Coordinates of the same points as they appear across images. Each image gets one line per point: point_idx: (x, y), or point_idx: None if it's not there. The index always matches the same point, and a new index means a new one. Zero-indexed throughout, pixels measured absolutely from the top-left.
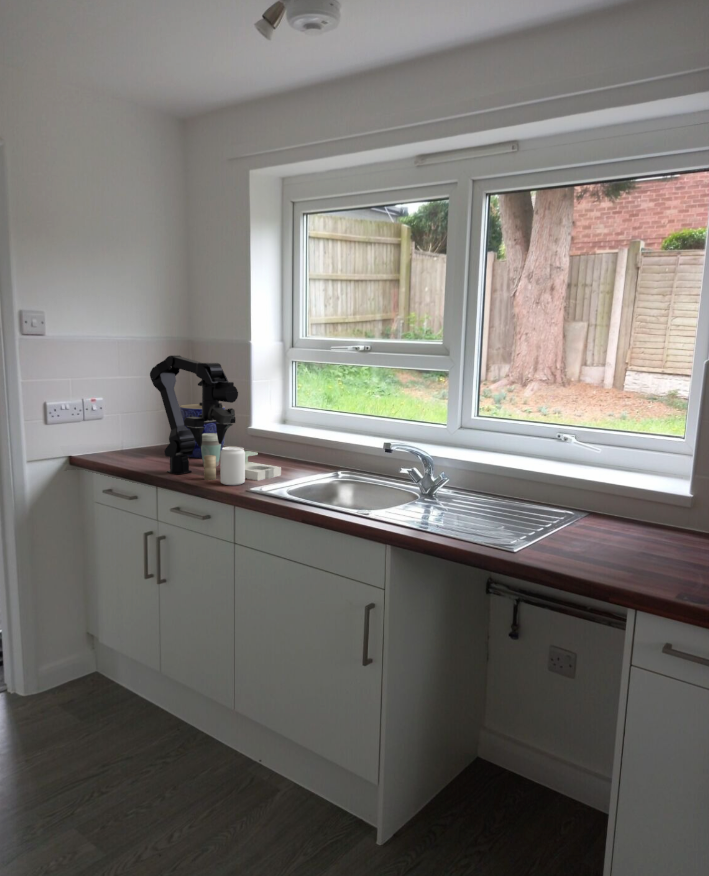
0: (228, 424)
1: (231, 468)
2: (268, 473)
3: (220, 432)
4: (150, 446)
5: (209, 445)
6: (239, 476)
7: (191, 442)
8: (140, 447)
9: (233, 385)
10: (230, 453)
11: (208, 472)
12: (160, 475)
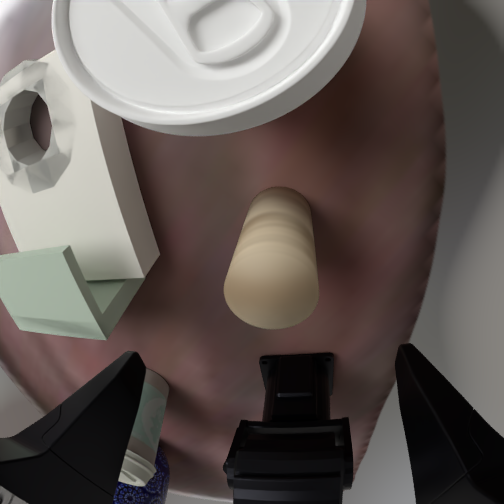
0: None
1: None
2: (36, 59)
3: (93, 447)
4: (187, 492)
5: (133, 436)
6: None
7: (261, 467)
8: (205, 496)
9: None
10: None
11: (305, 215)
12: (375, 374)
